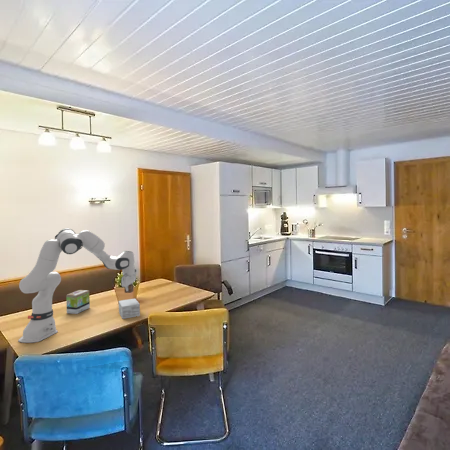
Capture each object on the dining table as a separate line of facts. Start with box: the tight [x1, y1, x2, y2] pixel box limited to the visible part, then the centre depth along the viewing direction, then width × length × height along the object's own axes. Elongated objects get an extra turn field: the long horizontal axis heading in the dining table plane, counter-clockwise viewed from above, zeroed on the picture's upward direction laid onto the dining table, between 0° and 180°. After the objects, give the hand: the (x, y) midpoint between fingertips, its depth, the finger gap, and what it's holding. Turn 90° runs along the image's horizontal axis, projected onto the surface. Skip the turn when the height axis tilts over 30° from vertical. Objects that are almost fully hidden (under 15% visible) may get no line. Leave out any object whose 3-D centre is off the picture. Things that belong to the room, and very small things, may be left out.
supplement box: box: [118, 298, 141, 320], centre depth 228 cm, size 17×13×9 cm
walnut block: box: [123, 284, 134, 294], centre depth 227 cm, size 5×5×5 cm
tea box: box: [65, 289, 91, 315], centre depth 237 cm, size 15×10×15 cm
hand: (129, 289), depth 227 cm, fingers closed on walnut block, 5 cm apart
